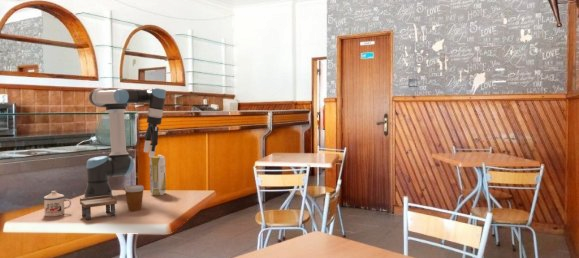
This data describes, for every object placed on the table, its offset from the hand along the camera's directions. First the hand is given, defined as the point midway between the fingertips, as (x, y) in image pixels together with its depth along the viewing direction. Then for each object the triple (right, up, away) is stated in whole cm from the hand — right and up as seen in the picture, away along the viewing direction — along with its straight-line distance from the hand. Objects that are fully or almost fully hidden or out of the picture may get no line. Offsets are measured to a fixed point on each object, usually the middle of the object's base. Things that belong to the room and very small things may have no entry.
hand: (148, 154), depth 237 cm
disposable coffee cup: (-2, -28, -15) cm, 31 cm away
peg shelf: (-15, -28, -27) cm, 42 cm away
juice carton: (-2, -26, +25) cm, 36 cm away
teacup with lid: (-38, -28, -23) cm, 52 cm away
